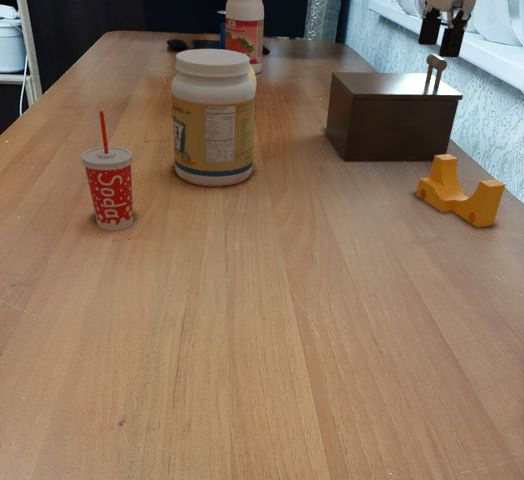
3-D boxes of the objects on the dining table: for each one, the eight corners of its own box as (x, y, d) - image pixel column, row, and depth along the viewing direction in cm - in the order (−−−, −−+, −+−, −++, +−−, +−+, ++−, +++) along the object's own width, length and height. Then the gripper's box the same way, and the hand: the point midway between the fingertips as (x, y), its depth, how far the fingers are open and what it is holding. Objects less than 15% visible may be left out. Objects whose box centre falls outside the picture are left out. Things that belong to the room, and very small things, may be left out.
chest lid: (429, 78, 105) (435, 48, 102) (462, 100, 93) (470, 66, 90) (331, 76, 102) (334, 45, 99) (352, 99, 91) (356, 64, 88)
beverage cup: (84, 230, 73) (65, 116, 64) (101, 211, 77) (85, 102, 69) (130, 235, 72) (117, 121, 64) (145, 215, 77) (135, 106, 68)
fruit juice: (269, 72, 147) (275, -61, 130) (241, 76, 142) (244, -61, 125) (245, 65, 153) (248, -64, 136) (218, 69, 148) (217, -64, 130)
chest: (415, 133, 111) (426, 78, 105) (444, 161, 99) (459, 100, 93) (325, 133, 109) (331, 77, 102) (344, 161, 97) (352, 99, 91)
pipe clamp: (415, 199, 85) (424, 156, 81) (439, 196, 86) (449, 153, 83) (465, 234, 76) (478, 188, 72) (491, 230, 78) (505, 184, 74)
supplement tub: (167, 164, 92) (159, 48, 82) (238, 157, 96) (239, 46, 86) (186, 193, 83) (181, 67, 73) (264, 184, 87) (269, 63, 77)
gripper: (516, -74, 78) (480, 62, 89) (465, -78, 92) (439, 41, 102) (464, -77, 77) (434, 61, 88) (421, -81, 91) (399, 39, 101)
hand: (437, 50), depth 95 cm, fingers open, 9 cm apart
